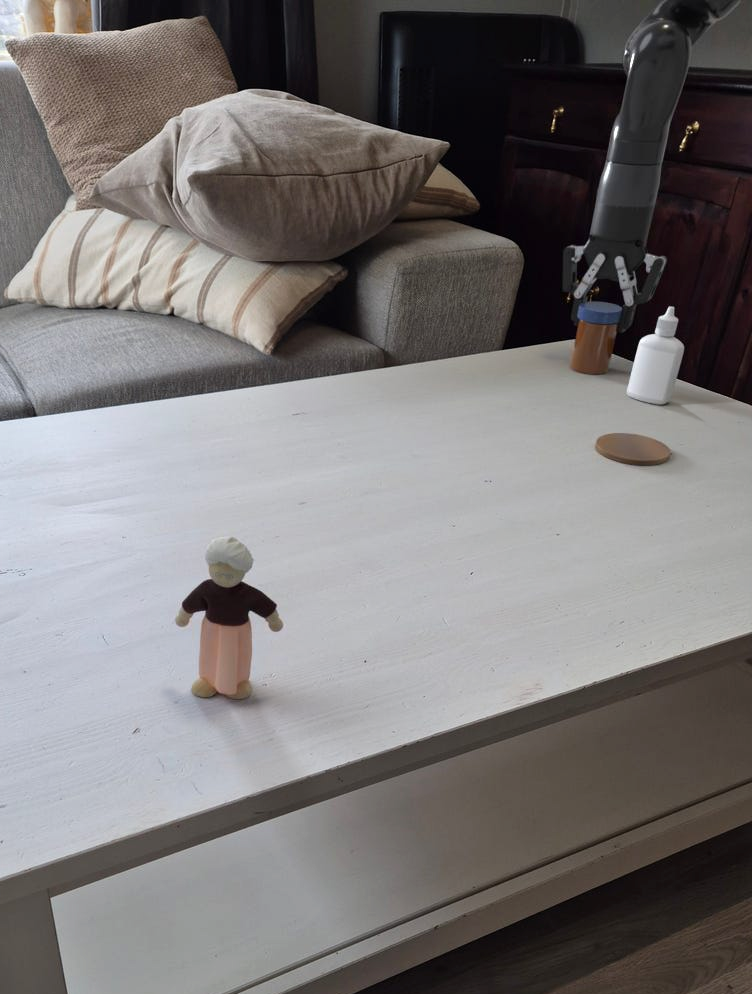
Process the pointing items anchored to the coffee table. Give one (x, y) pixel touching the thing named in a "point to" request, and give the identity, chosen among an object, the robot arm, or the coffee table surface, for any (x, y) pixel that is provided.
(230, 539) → the grandmother figurine
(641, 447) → the coaster
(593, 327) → the jar
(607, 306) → the lid
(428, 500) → the coffee table surface
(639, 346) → the eye dropper bottle
